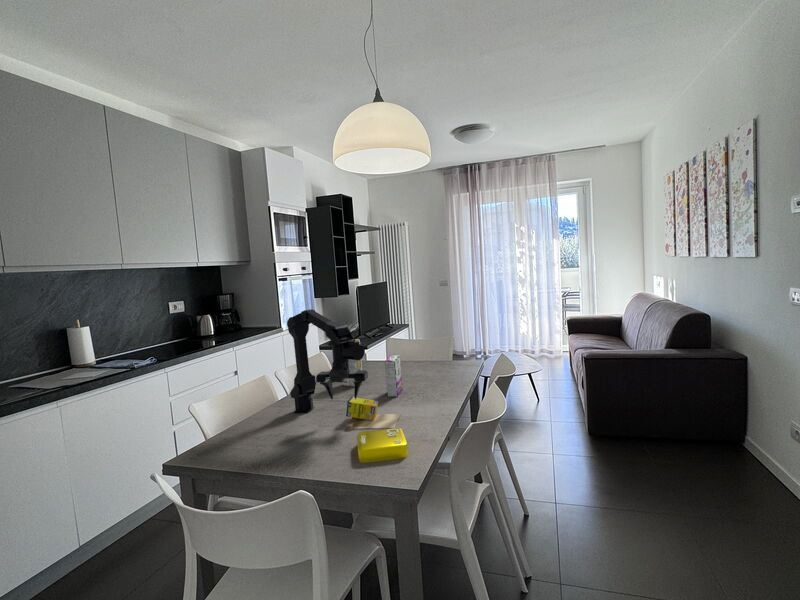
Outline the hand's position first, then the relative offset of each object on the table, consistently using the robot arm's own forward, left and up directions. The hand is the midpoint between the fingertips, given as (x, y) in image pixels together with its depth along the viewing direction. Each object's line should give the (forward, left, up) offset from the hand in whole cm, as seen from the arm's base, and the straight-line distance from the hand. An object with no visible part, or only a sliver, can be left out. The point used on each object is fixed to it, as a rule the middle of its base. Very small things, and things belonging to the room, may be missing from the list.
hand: (343, 398), depth 163 cm
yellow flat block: (+19, -25, -10) cm, 32 cm away
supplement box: (0, +3, -4) cm, 5 cm away
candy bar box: (+13, +36, -9) cm, 39 cm away
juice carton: (-11, +52, -9) cm, 54 cm away
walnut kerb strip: (+3, 0, -9) cm, 10 cm away
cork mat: (+12, 0, -9) cm, 15 cm away
